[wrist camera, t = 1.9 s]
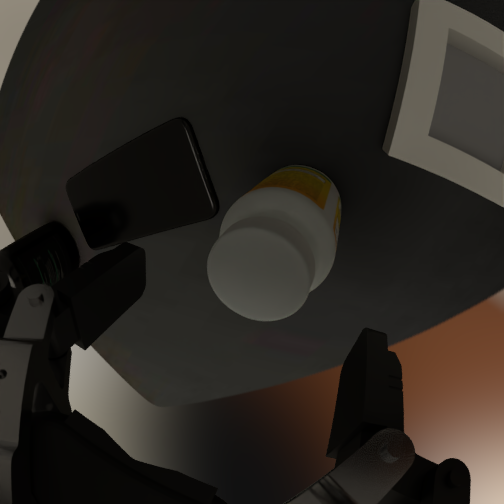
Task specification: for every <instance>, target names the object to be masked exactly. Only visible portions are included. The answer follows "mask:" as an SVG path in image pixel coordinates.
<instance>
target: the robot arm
mask: <svg viewBox="0 0 504 504" xmlns="http://www.w3.org/2000/svg"><path fill="white" fill-rule="evenodd" d="M145 286H146V258H145V250H144V249H143V248H140V247H138V246H135V245H133V244H130V243H128V242H124V243H122V244H121V245H119V246H118V247H116V248H115V249H113V250H110V251H106V252H103V253H100V254H98V255H96V256H95V257H93V258H92V259H90V260H89V261H88V262H86V263H84V264H83V265H81V267H80V268H77V269H76V270H74V271H73V272H71V273H70V274H68V275H67V276H66V277H64V278H63V279H61V280H60V281H58V282H57V283H56V284H54V285H53V286H51V287H50V286H48V285H45V284H34V285H31V286H28V287H26V288H25V289H24V290H20V289H17V288H14V287H11V284H10V281H9V278H8V275H7V274H6V273H4V272H0V504H228V503H226V502H225V501H224V500H223V499H221V498H220V497H218V496H217V495H215V493H216V491H217V489H218V488H216V487H213V486H211V485H208V484H206V483H203V482H201V481H198V480H196V479H194V478H191V477H189V476H187V475H185V474H182V473H180V472H178V471H174V470H170V469H165V468H162V467H158V466H154V465H151V464H147V463H144V462H140V461H137V460H135V459H133V458H131V457H130V456H129V455H128V454H127V453H126V452H125V451H124V450H123V449H122V448H121V447H120V446H119V445H118V444H117V443H116V442H115V441H114V440H113V439H112V438H111V437H110V436H109V435H108V434H107V433H106V432H105V430H103V429H102V428H100V427H99V426H97V425H96V424H95V423H93V422H92V421H90V420H89V419H87V418H86V417H85V416H83V415H82V414H80V413H79V412H78V411H77V410H74V411H73V412H72V411H71V406H70V402H69V396H68V390H69V376H70V365H71V364H70V363H71V355H72V351H71V347H72V346H73V345H74V344H76V345H78V346H79V347H81V348H82V349H84V350H86V349H87V348H88V347H89V346H90V345H91V344H92V343H93V342H94V341H95V340H96V339H97V338H98V337H99V336H100V335H102V334H103V333H104V332H105V331H106V330H107V329H108V328H109V327H110V326H111V325H112V324H113V323H114V322H115V321H116V320H117V319H118V318H119V317H120V316H121V315H122V314H123V313H124V312H125V311H127V310H128V309H129V308H130V307H131V306H132V305H133V304H134V303H135V302H136V301H137V300H138V299H139V298H140V297H141V296H142V294H143V292H144V290H145ZM401 380H402V368H401V364H400V362H399V359H398V357H397V355H396V353H395V352H391V351H388V344H387V335H386V334H385V333H382V332H379V331H376V330H372V329H369V328H364V329H363V330H362V332H361V334H360V335H359V337H358V339H357V341H356V342H355V344H354V346H353V348H352V349H351V351H350V353H349V354H348V356H347V358H346V360H345V362H344V364H343V367H342V370H341V374H340V381H339V388H338V394H337V401H336V406H335V412H334V418H333V423H332V429H331V434H330V439H329V444H328V449H327V453H326V457H330V458H335V459H336V463H335V468H334V469H333V470H331V471H330V472H329V473H327V474H326V475H325V476H323V477H322V478H321V479H319V480H318V481H316V482H315V483H314V484H312V485H311V486H309V487H308V488H307V489H306V490H304V491H302V492H301V493H299V494H298V495H296V496H295V497H293V498H292V499H290V500H289V501H287V502H285V503H284V504H470V481H471V479H470V473H469V470H468V468H467V466H466V465H465V464H464V463H463V462H462V461H460V460H458V459H455V458H450V459H446V460H444V461H443V462H441V463H440V464H436V463H434V462H431V461H429V460H427V459H425V458H423V457H421V456H419V455H417V454H416V453H415V448H414V445H413V443H412V441H411V440H410V438H409V437H408V436H407V435H406V434H405V433H404V412H403V411H404V408H403V391H402V389H403V383H402V381H401Z"/></svg>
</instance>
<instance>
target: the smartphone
mask: <svg viewBox="0 0 504 504" xmlns="http://www.w3.org/2000/svg"><path fill="white" fill-rule="evenodd" d="M66 191H67V194H68V197H69V200H70V202H71V205H72V208H73V210H74V213H75V215H76V218H77V220H78V223H79V225H80V228H81V230H82V232H83V235H84V237H85V239H86V242H87V244H88V245H89V247H90V248H91V249H93V250H100V249H103V248H107V247H110V246H114V245H118V244H121V243H124V242H127V241H130V240H134V239H138V238H141V237H145V236H148V235H152V234H156V233H159V232H163V231H167V230H170V229H174V228H178V227H182V226H185V225H189V224H193V223H197V222H201V221H205V220H208V219H211V218H213V217H214V216H215V215H216V214H217V213H218V211H219V202H218V199H217V196H216V193H215V190H214V187H213V184H212V181H211V179H210V176H209V173H208V170H207V168H206V166H205V163H204V161H203V156H202V153H201V150H200V147H199V145H198V142H197V139H196V136H195V133H194V131H193V128H192V125H191V124H190V122H189V121H188V120H187V119H185V118H181V117H179V118H174V119H172V120H170V121H168V122H166V123H164V124H162V125H160V126H158V127H156V128H154V129H152V130H150V131H148V132H146V133H144V134H142V135H141V136H139V137H137V138H135V139H133V140H131V141H130V142H128V143H126V144H124V145H123V146H121V147H119V148H117V149H116V150H114V151H112V152H111V153H109V154H107V155H106V156H104V157H102V158H101V159H99V160H98V161H96V162H94V163H92V164H91V165H89V166H88V167H86V168H84V169H83V170H82V171H81V172H79V173H78V174H76V175H75V176H73V177H72V178H70V179H69V180H68V181H67V183H66Z"/></svg>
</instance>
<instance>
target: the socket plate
mask: <svg viewBox="0 0 504 504" xmlns="http://www.w3.org/2000/svg"><path fill="white" fill-rule="evenodd" d="M382 149H383V150H384V151H385V152H386V153H387V154H388V155H389V156H392V157H395V158H397V159H400V160H402V161H405V162H408V163H410V164H413V165H415V166H418V167H420V168H423V169H425V170H427V171H430V172H432V173H435V174H437V175H439V176H441V177H444V178H446V179H448V180H450V181H452V182H455V183H457V184H459V185H461V186H463V187H465V188H467V189H469V190H471V191H473V192H475V193H477V194H479V195H481V196H483V197H485V198H487V199H489V200H491V201H493V202H495V203H496V204H498V205H500V206H502V207H504V32H503V31H501V30H500V29H498V28H496V27H495V26H493V25H492V24H490V23H488V22H486V21H485V20H483V19H481V18H479V17H477V16H476V15H474V14H472V13H470V12H468V11H466V10H464V9H462V8H460V7H458V6H456V5H454V4H452V3H450V2H447V1H445V0H415V1H414V3H413V5H412V7H411V12H410V20H409V27H408V33H407V40H406V46H405V51H404V57H403V62H402V67H401V72H400V77H399V82H398V87H397V91H396V96H395V100H394V104H393V108H392V112H391V117H390V121H389V124H388V128H387V132H386V136H385V140H384V143H383V147H382Z"/></svg>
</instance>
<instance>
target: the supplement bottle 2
mask: <svg viewBox="0 0 504 504" xmlns="http://www.w3.org/2000/svg"><path fill="white" fill-rule="evenodd" d="M340 220H341V199H340V195H339V192H338V190H337V188H336V187H335V185H334V183H333V182H332V181H331V180H330V179H329V178H328V177H327V176H326V175H325V174H324V173H322V172H320V171H318V170H316V169H314V168H311V167H308V166H303V165H291V166H287V167H283V168H281V169H279V170H277V171H276V172H274V173H273V174H271V175H270V176H268V177H267V178H266V179H264V180H263V181H262V182H260V183H259V184H258V185H256V186H255V187H254V188H253V189H251V190H250V191H249V192H247V193H246V194H245V195H243V196H242V197H241V198H239V199H238V200H237V201H236V202H235V203H234V204H233V205H232V206H231V207H230V209H229V210H228V212H227V213H226V215H225V217H224V219H223V222H222V225H221V229H220V236H219V239H218V240H217V241H216V242H215V244H214V245H213V247H212V249H211V251H210V253H209V256H208V261H207V273H208V278H209V281H210V284H211V286H212V288H213V290H214V292H215V293H216V295H217V296H218V298H219V299H220V300H221V301H222V302H223V303H224V304H225V305H226V306H227V307H229V308H230V309H231V310H233V311H234V312H236V313H238V314H240V315H242V316H244V317H246V318H250V319H253V320H259V321H274V320H279V319H283V318H286V317H288V316H290V315H292V314H293V313H295V312H296V311H297V310H298V309H299V308H300V307H301V306H302V305H303V304H304V302H305V301H306V299H307V297H308V294H309V292H310V291H312V290H314V289H315V288H316V287H318V286H319V285H320V284H321V283H322V282H323V280H324V279H325V278H326V277H327V275H328V274H329V272H330V270H331V268H332V265H333V262H334V258H335V253H336V248H337V241H338V234H339V226H340Z"/></svg>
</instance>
